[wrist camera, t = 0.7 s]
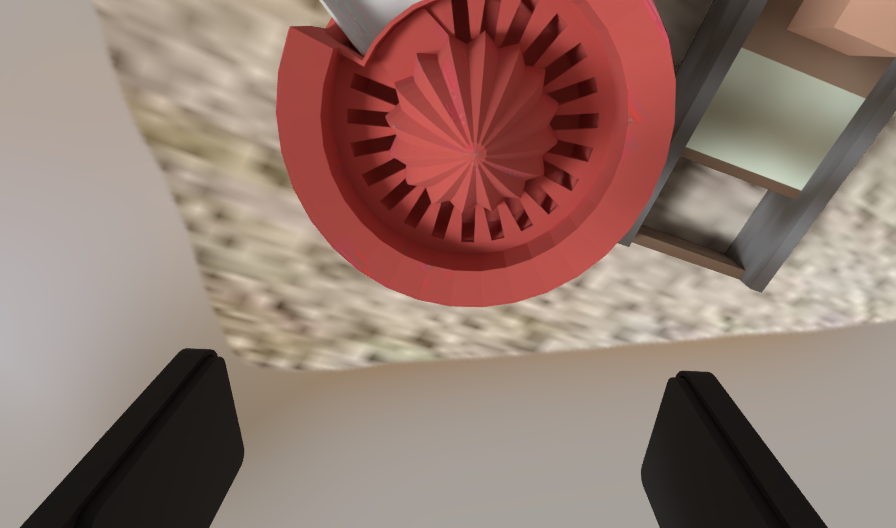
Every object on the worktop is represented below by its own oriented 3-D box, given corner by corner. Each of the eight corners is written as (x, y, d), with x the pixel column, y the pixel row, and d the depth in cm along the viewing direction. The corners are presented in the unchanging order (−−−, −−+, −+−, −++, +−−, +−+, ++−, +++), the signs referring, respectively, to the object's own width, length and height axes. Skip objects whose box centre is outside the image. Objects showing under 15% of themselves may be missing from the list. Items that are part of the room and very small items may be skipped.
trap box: (833, -229, 26) (902, -280, 22) (1007, -141, 27) (1104, -173, 23) (599, 220, 37) (616, 242, 33) (730, 266, 39) (761, 292, 35)
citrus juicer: (475, -121, 28) (498, -413, 10) (618, 113, 34) (798, 195, 16) (297, 54, 33) (93, 68, 15) (450, 235, 38) (439, 407, 20)
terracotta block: (835, -54, 27) (894, -70, 23) (901, -25, 27) (968, -35, 24) (786, 29, 28) (833, 27, 25) (848, 55, 29) (903, 57, 25)
